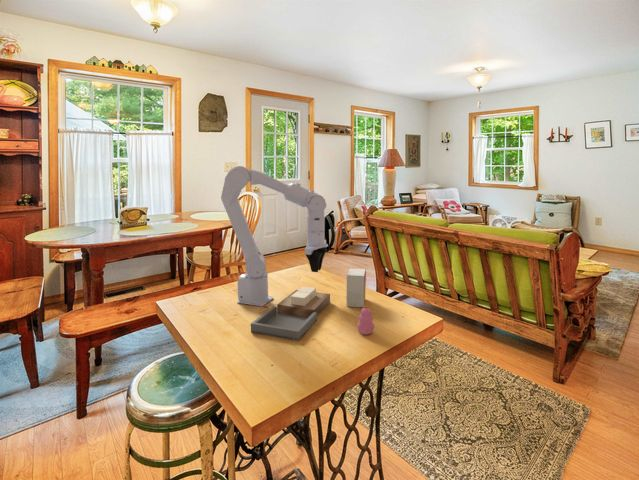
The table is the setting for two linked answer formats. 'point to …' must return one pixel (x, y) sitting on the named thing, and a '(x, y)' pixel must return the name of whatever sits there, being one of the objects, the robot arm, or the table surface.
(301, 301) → the front tile
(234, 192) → the robot arm
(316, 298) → the walnut plate
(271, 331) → the box
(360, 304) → the small box
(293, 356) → the table surface
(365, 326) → the dog chew toy
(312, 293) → the rear tile
